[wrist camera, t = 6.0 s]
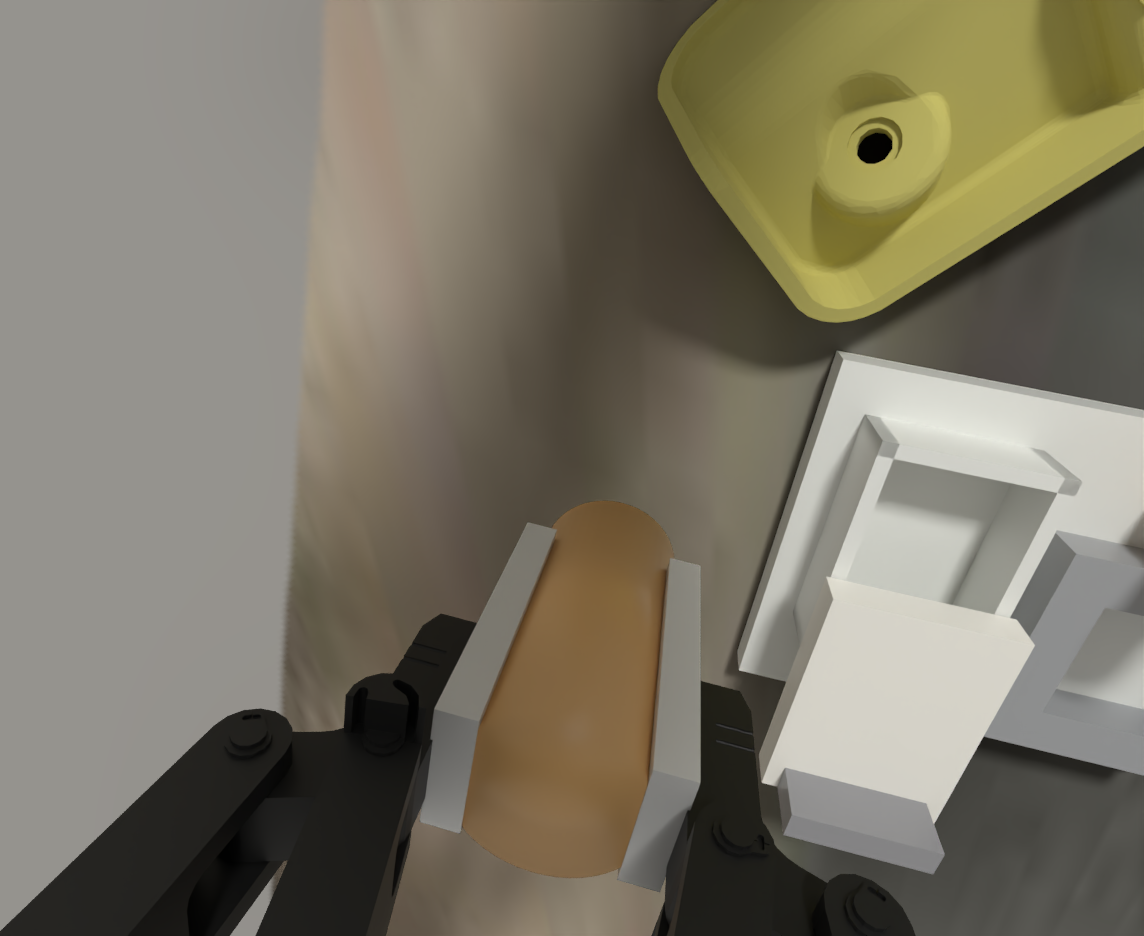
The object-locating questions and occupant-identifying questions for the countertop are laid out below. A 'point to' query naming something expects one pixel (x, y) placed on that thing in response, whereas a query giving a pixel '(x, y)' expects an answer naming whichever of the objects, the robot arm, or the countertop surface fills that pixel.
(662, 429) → the countertop surface
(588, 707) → the peg
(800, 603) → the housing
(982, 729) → the lid
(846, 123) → the plastic component
